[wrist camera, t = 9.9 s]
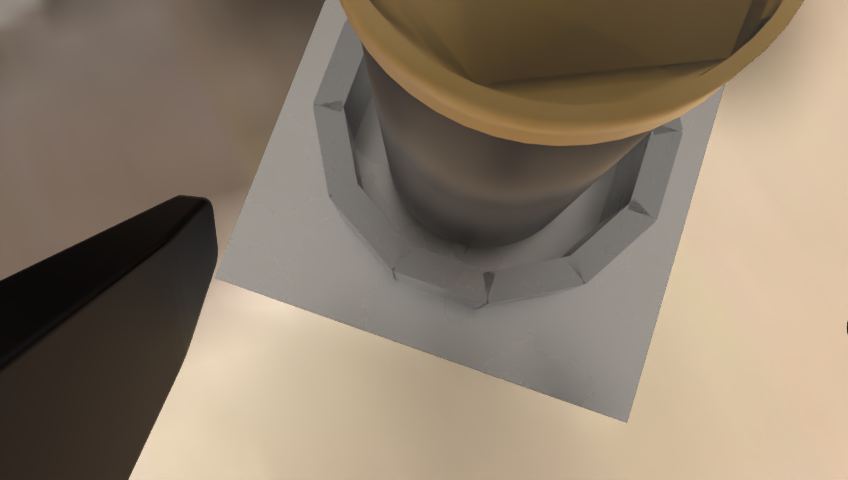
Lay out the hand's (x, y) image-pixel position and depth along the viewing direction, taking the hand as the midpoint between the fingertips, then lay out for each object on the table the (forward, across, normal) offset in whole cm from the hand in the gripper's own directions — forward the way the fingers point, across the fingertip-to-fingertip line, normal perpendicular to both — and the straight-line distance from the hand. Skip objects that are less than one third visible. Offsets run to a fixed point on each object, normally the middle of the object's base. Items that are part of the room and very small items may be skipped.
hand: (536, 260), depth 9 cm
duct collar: (+12, 0, +5) cm, 13 cm away
